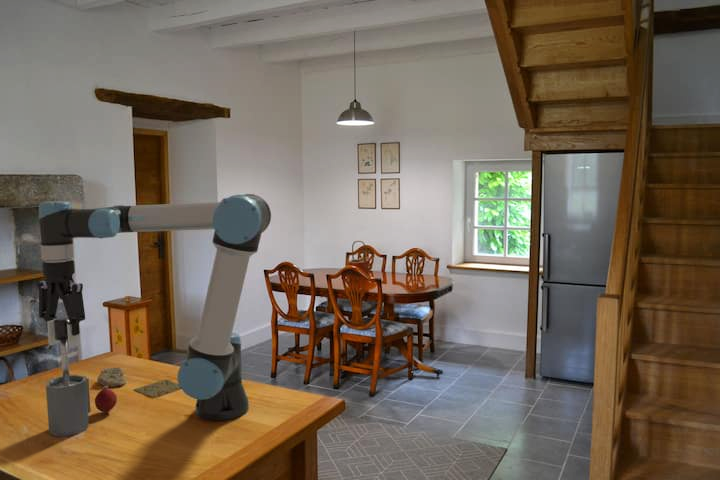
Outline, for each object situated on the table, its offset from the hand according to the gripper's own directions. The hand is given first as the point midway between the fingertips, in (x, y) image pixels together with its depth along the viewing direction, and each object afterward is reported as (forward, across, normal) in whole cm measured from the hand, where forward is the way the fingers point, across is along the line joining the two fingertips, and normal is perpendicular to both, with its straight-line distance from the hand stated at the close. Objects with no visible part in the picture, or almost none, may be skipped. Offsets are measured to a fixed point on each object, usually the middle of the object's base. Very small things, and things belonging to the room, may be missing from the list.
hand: (63, 345), depth 153 cm
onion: (+24, -1, -12) cm, 26 cm away
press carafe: (+23, 0, 0) cm, 23 cm away
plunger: (+12, 0, 0) cm, 12 cm away
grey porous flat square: (+24, -3, -32) cm, 41 cm away
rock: (+24, +15, -31) cm, 42 cm away
